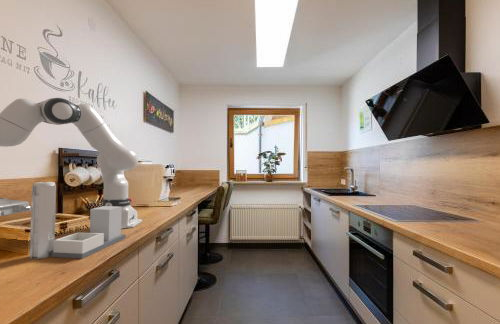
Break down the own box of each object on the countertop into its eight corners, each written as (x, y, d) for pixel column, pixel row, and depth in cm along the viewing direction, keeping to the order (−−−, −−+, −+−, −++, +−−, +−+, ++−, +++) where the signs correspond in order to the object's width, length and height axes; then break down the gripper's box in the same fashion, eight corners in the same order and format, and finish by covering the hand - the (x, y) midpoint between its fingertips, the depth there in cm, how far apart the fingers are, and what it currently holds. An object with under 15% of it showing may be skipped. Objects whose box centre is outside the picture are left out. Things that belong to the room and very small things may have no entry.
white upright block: (25, 257, 84) (28, 182, 85) (48, 251, 90) (50, 181, 91) (35, 260, 81) (37, 183, 82) (58, 254, 87) (60, 182, 88)
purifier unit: (101, 236, 109) (102, 205, 110) (125, 237, 108) (126, 206, 108) (51, 256, 85) (53, 216, 85) (82, 258, 84) (83, 217, 84)
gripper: (-60, 205, 77) (-18, 206, 76) (8, 197, 98) (42, 198, 97) (-60, 226, 77) (-18, 227, 76) (8, 213, 98) (42, 214, 97)
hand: (16, 211), depth 87 cm, fingers open, 8 cm apart
